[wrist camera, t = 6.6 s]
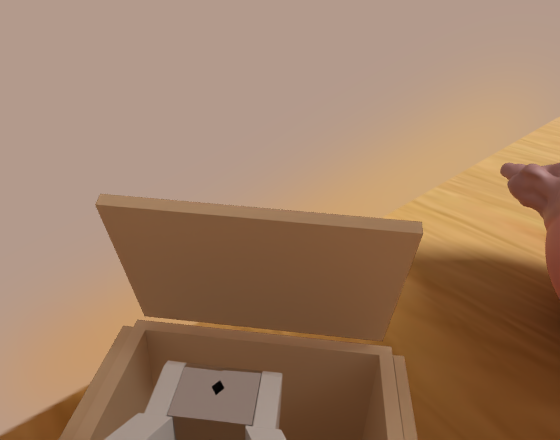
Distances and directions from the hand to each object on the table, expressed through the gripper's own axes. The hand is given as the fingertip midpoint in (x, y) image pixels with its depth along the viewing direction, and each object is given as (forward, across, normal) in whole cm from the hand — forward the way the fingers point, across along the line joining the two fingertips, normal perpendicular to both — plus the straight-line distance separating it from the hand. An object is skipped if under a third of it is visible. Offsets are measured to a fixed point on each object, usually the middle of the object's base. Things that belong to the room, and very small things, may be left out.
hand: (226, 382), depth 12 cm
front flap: (+7, 0, +2) cm, 7 cm away
